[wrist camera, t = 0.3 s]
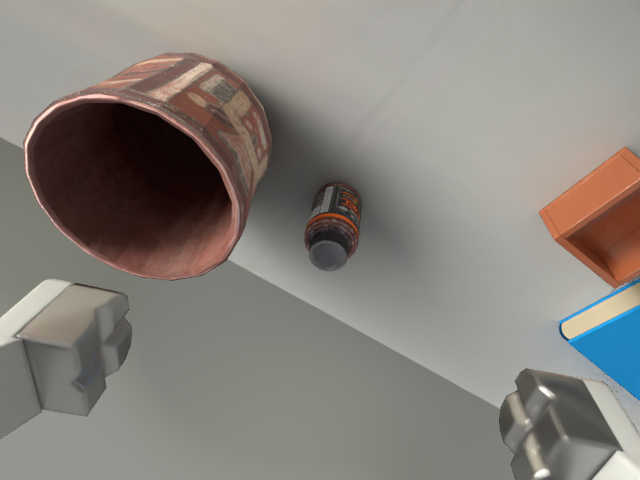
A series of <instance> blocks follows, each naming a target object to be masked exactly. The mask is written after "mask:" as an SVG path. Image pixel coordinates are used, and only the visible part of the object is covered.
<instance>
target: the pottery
mask: <svg viewBox="0 0 640 480" xmlns="http://www.w3.org/2000/svg"><path fill="white" fill-rule="evenodd" d="M23 145H24V161H25V173H26V175H27V177H28V180H29V182H30V185H31V187H32V189H33V191H34V194H35V196H36V199H37V201H38V202H39V204H40V205H41V207H42V208H43V209H44V211H45V212H46V213H47V215H48V216H49V218H50V219H51V220H52V222H53V223H54V224H55V226H56V227H57V228H58V229H59V230H60V231H61V232H62V233H63V234H64V235H65V236H67V237H68V238H69V239H70V240H71V241H72V242H74V243H75V244H76V245H77V246H78V247H79V248H81V249H82V250H83V251H84V252H86V253H87V254H89V255H91V256H93V257H95V258H97V259H98V260H100V261H102V262H104V263H106V264H107V265H109V266H111V267H113V268H115V269H118V270H121V271H124V272H127V273H130V274H133V275H136V276H139V277H143V278H153V279H162V280H171V281H173V280H178V279H185V278H191V277H197V276H202V275H204V274H205V273H207V272H209V271H210V270H212V269H214V268H215V267H217V266H219V265H220V264H222V263H224V262H225V261H227V259H228V257H229V256H230V254H231V252H232V251H233V249H234V247H235V246H236V244H237V242H238V241H239V239H240V237H241V236H242V233H243V231H244V228H245V225H246V221H247V216H248V212H249V208H250V205H251V202H252V200H253V197H254V195H255V192H256V190H257V188H258V186H259V184H260V182H261V180H262V179H263V177H264V175H265V173H266V172H267V170H268V167H269V165H270V158H271V146H272V136H271V132H270V129H269V125H268V122H267V118H266V115H265V111H264V107H263V106H262V104H261V103H260V101H259V100H258V98H257V97H256V96H255V94H254V93H253V91H252V90H251V89H250V87H249V86H248V84H247V83H246V81H245V80H243V79H242V78H240V77H239V76H238V75H236V74H235V73H234V72H232V71H231V70H229V69H228V68H227V67H225V66H224V65H223V64H221V63H220V62H218V61H215V60H212V59H209V58H206V57H204V56H201V55H198V54H194V53H165V54H162V55H159V56H156V57H153V58H150V59H147V60H144V61H141V62H139V63H136V64H134V65H132V66H130V67H129V68H127V69H125V70H123V71H122V72H120V73H118V74H117V75H115V76H113V77H112V78H110V79H108V80H105V81H103V82H101V83H99V84H96V85H94V86H91V87H89V88H86V89H83V90H80V91H78V92H75V93H72V94H69V95H67V96H64V97H62V98H60V99H58V100H55V101H53V102H52V103H51V104H50V105H49V106H48V107H47V108H46V109H45V110H44V111H43V112H41V113H40V114H39V115H38V116H37V117H36V118H35V119H34V120H33V122H32V124H31V127H30V129H29V131H28V133H27V135H26V137H25V139H24V142H23Z"/></svg>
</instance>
